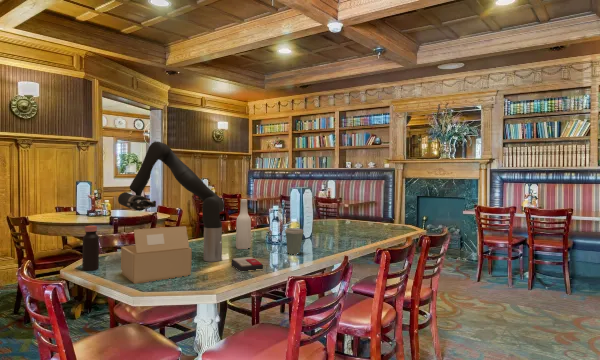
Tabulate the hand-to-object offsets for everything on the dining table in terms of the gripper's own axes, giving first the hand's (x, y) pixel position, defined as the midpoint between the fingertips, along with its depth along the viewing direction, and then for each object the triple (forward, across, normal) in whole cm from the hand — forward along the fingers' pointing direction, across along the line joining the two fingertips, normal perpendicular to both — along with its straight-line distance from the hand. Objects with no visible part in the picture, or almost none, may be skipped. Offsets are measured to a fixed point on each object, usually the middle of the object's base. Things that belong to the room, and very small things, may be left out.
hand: (147, 205), depth 190 cm
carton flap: (+21, 0, +13) cm, 25 cm away
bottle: (-13, -22, +30) cm, 39 cm away
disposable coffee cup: (+10, +79, +30) cm, 85 cm away
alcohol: (-21, +64, +30) cm, 74 cm away
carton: (+13, 0, +30) cm, 33 cm away
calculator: (+24, +40, +31) cm, 56 cm away
